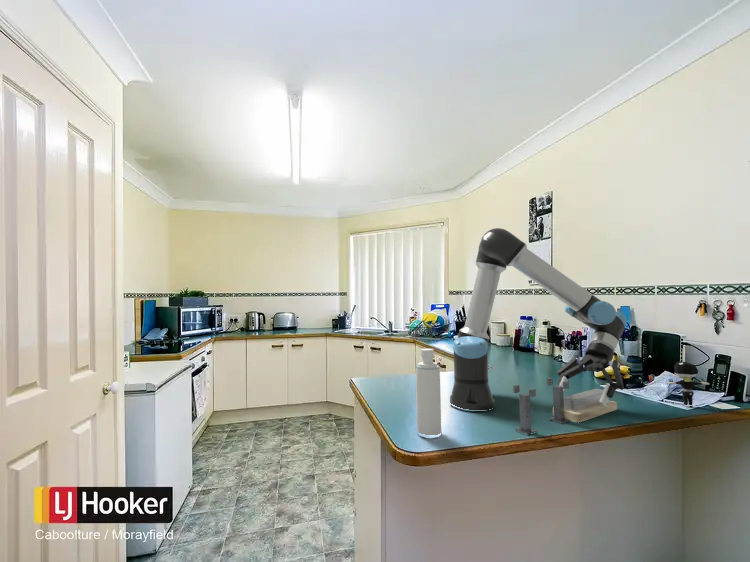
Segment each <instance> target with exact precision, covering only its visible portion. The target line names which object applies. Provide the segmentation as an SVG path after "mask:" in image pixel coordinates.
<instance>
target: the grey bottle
mask: <svg viewBox="0 0 750 562" xmlns="http://www.w3.org/2000/svg"><path fill="white" fill-rule="evenodd" d="M434 350H435V349H434V348H421V349H420V356H421V361H420V362H418V363H417V364H416V365H415V389H416V390H415V392H416V396H415V397H416V398H415V399H416V401H415V402H416V432H417V431H418V432H419V433H421V434H425V435H438V434H440V433H441V434H442V406H441V405H442V404H441V400H442V399H441V369H440V368H441V367H440V366H441V365H439V364H438V363H437V362H435V361H434V357H435V356H434V355H435V354H434V353H435V351H434Z"/></svg>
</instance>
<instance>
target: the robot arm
mask: <svg viewBox="0 0 750 562" xmlns="http://www.w3.org/2000/svg"><path fill="white" fill-rule="evenodd" d="M475 265H476V267H477V268H478V269H477V273H476V277H475V280H474V284H473V289H472V294H471V298H470V301H469V307H468V310H467V314H466V318H465V323H464V326H463V327H462V328H460V329H459V331H458V335H457V338H455V339H454V340H453V345H452V351H453V370H454V371H453V374H454V375H453V376H454V381H453V387H452V390H451V394H450V396H449V404H450V403H451V404H453V405H455V406H457V407H460V408H463V409H469V410H489V409H492V408H494V406H495V399H494V397H493V395H492V390H491V388H490V385H489V383H490V382H489V359H488V358H489V357H488V353H489V352H488V351H489V341H490V336H489V335H488V333H487V331H488V327H489V323H490V319H491V314H492V310H493V307H494V302H495V299H496V295H497V289H498V285H499V282H500V278H501V273H502V272H504V271H506V270H507V267H513V268H515V269H516V270H517V271H519V272H520V273H522V274H523V275H524V276H525V277H528V278H529V279H530V280H532V281H533V282H534V283H535V284H537V285H538V286H540V287H541V288H542V289H544V290H546V291H547V292H548V293H549V294H551V295H552V296H554V297H555V298H556V299H558V300H560V302H562V303H564V304H565V307H564V311H565V313H566V314H568V315H569V316H570V317H572V318H574V319H576V320H577V321H579V322H581V323H582V324H584V325H585V326H587V327H589V328H590V329H592V330H594V333H593V335H592V337H591V339H590V341H589V344H588V346H587V347H586V351H585V355H584V356H579V355H578V354H574V355H573V357H572V358H571V359H570V360H569V361H568V362H567V363H565V364H564V365H563V366H562V367H561V368H559V369H558V370H557V371H556V374H557V375H558V377H559V380H558V382H557V386H561V387H563V382H565V381H569V380H570V379H571V378H573V377H575V376H577V375H579V374H581V373H582V372H584V373H586V372H587V371H589V372H594V373H599V372H601V373H602V375H603V376H604V378H605V380H606V381H607V382H608V384H605V386H604V388H603V390H604V391H603V393H602V396H601V398H600V401H599V402H600V404H601V405H602V407H604V408H605V407H606V405H607V402H608V400H609V401H610V399H613V397H614V395H615V393H616V391H617V390H620V391H623V390H624V389H625V387H624V382H623V378H622V376H621V372H620V368H621V365H620V362H619V361H618V360H617V359H613V357H614V353H615V351H616V350H617V347H618V344H619V341H620V339H621V337H622V335H623V333H624V331H625V330H626V329H625V328H626V324H627V317H626V315H625V314H624V313H622V312H620V311H618V310H617V311H616V308H615V307H614V305H612V304H611V303H610V302H607V301H604V300H601V299H600V298H598V297H597V296H595V295H593V294H592V292H589V291H588V290H586V289H585V288H584V287H582V286H581V285H579V284H578V283H577V282H575V281H574V280H573V279H571V278H569V277H568V276H567V275H565V274H564V273H563V272H561V271H560V270H558V269H557V268H555V267H554V266H553V265H551V264H550V263H548V262H547V261H546V260H544V259H543V258H541V257H540V256H538V255H537V254H535V253H534V252H532V251H531V250H530V249H528V246H527V244H526V243H525V242H524V241H522V240H521V239H520V238H518V237H517V236H515V234H513V233H512V232H511V231H508V230H506V229H504V228H502V227H501V228H500V227H497V228H496V227H495V228H491V229H489V230H488V231H486V232H485V233H484V234H483V236H482V237H481V239H480V243H479V245H478V251H477V256H476V260H475ZM612 359H613V361H612ZM609 367H611V368H612V371H613V375H614V379H615V382H614V381H613V379H612V378H611V377H610V375H609V374H608V371H607V370H606V369H607V368H609ZM565 391H566V389H563V394H564V392H565ZM495 407H496V406H495ZM494 409H495V408H494ZM492 410H493V409H492Z"/></svg>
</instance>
